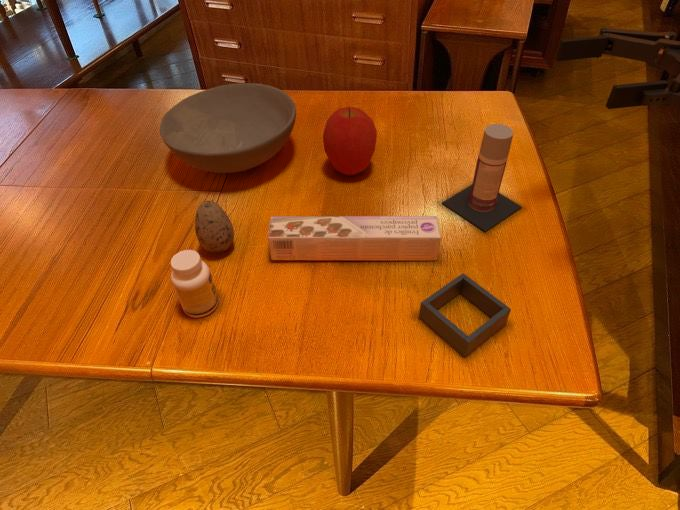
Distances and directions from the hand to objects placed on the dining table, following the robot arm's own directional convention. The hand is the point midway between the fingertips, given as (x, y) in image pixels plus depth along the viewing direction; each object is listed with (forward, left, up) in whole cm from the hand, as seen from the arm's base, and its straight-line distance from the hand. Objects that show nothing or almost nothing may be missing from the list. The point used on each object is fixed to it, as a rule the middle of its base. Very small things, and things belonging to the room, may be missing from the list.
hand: (582, 72), depth 63 cm
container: (+9, +1, -28) cm, 29 cm away
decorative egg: (+30, +43, -28) cm, 60 cm away
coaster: (+9, +1, -28) cm, 30 cm away
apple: (+33, +12, -28) cm, 45 cm away
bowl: (+52, +27, -28) cm, 65 cm away
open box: (-6, +23, -28) cm, 37 cm away
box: (+15, +26, -28) cm, 41 cm away
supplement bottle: (+21, +51, -28) cm, 62 cm away
